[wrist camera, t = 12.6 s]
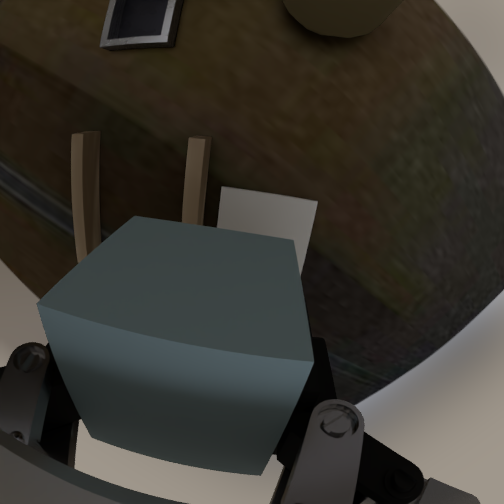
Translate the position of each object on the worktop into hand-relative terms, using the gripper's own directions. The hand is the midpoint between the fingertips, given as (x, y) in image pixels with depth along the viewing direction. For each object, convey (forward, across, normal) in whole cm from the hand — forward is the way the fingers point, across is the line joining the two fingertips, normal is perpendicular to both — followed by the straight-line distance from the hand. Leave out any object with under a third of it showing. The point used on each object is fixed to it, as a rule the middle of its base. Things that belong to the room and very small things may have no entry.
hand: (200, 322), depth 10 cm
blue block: (+1, 0, -1) cm, 1 cm away
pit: (+16, +10, -16) cm, 24 cm away
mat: (+16, -2, +3) cm, 17 cm away
